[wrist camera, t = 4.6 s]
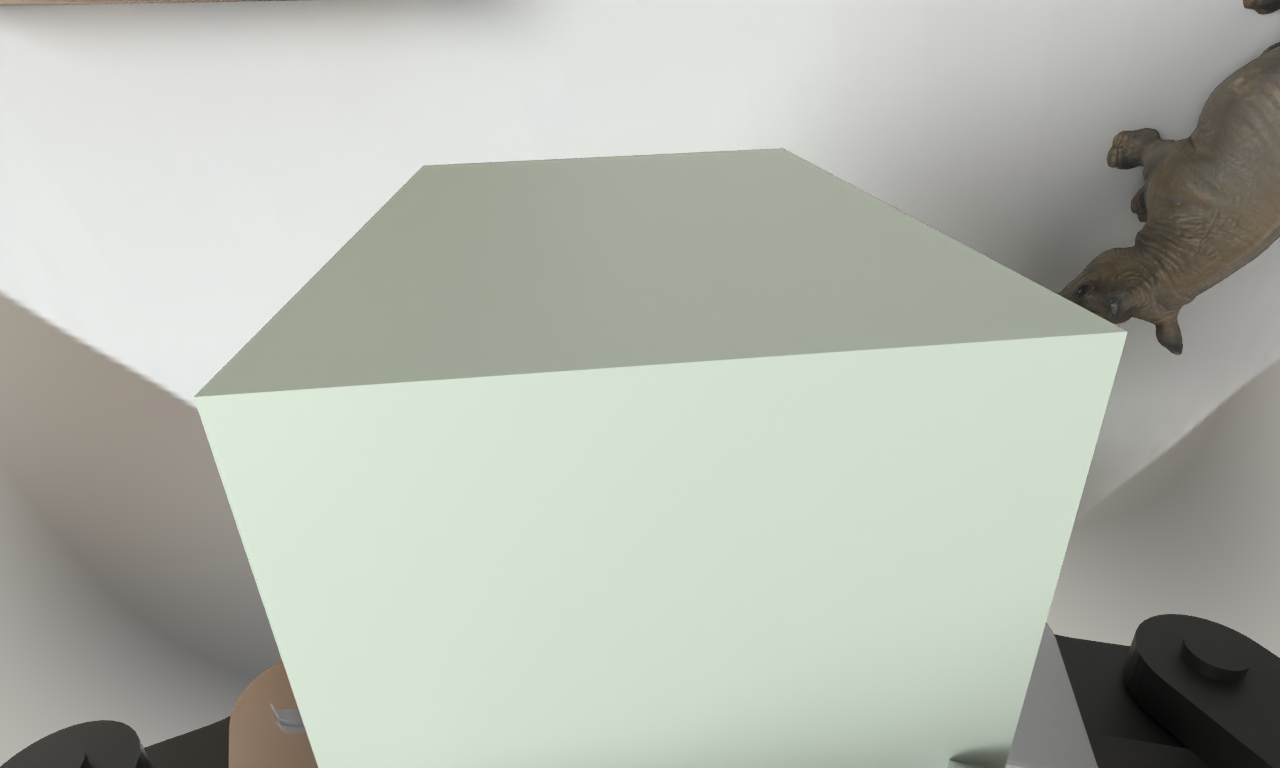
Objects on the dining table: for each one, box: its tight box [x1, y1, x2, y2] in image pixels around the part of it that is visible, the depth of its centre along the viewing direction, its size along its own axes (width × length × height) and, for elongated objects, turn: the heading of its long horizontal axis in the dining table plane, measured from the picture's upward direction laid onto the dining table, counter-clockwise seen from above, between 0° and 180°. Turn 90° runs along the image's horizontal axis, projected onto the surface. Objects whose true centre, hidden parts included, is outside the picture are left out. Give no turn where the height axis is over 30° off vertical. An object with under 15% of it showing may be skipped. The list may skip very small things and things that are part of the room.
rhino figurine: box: [1058, 0, 1280, 355], centre depth 23 cm, size 4×14×6 cm, turn 149°
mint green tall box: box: [194, 148, 1128, 768], centre depth 9 cm, size 5×11×7 cm, turn 2°
